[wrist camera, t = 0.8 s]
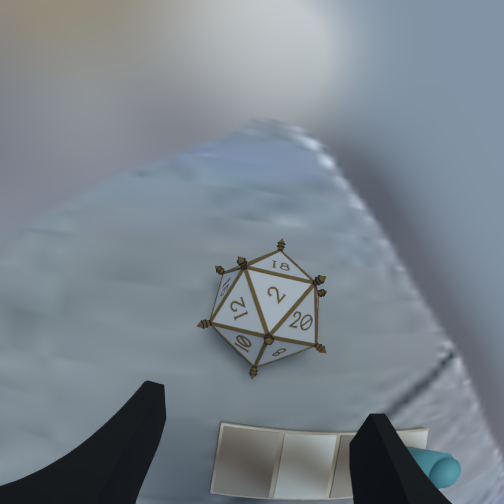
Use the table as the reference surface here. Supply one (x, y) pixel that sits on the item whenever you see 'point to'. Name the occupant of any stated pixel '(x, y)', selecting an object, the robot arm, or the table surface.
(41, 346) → the table surface
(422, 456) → the pawn
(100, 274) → the table surface
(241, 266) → the game die
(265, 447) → the board
